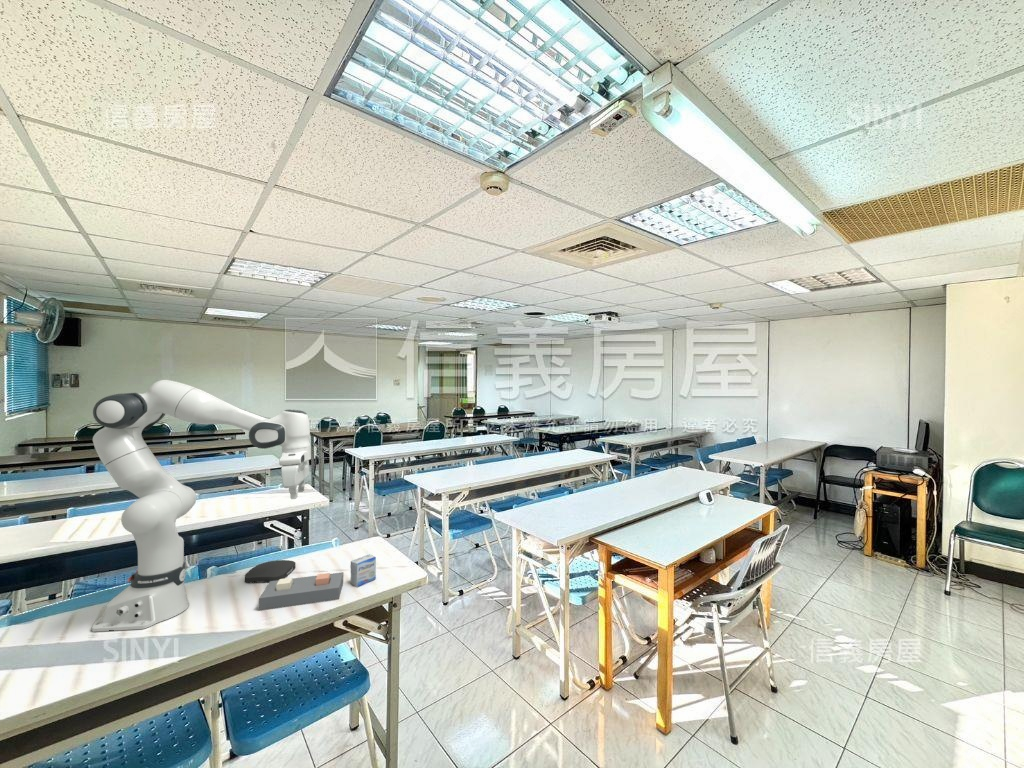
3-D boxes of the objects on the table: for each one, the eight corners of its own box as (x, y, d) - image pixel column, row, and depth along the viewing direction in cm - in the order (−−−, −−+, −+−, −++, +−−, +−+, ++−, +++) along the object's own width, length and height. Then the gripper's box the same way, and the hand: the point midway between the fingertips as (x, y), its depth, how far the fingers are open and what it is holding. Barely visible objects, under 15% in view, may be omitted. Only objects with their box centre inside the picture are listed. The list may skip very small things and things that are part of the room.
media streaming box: (261, 567, 160) (262, 560, 160) (299, 566, 161) (299, 558, 161) (239, 585, 145) (239, 576, 145) (280, 583, 146) (280, 575, 146)
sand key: (276, 593, 132) (276, 584, 132) (279, 587, 136) (279, 579, 136) (289, 591, 133) (289, 582, 133) (292, 586, 137) (292, 577, 137)
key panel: (258, 610, 127) (258, 598, 127) (270, 592, 139) (270, 581, 139) (338, 599, 134) (339, 587, 134) (343, 583, 146) (343, 572, 146)
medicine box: (356, 587, 142) (357, 563, 142) (350, 584, 145) (350, 560, 145) (376, 579, 148) (376, 556, 149) (369, 576, 151) (369, 553, 151)
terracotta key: (315, 588, 136) (315, 579, 136) (317, 582, 139) (317, 574, 140) (328, 586, 137) (328, 577, 137) (329, 581, 141) (330, 572, 141)
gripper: (294, 451, 147) (295, 488, 147) (277, 461, 127) (278, 503, 127) (313, 450, 149) (314, 487, 149) (298, 459, 129) (300, 501, 129)
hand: (297, 495), depth 138 cm, fingers open, 8 cm apart
